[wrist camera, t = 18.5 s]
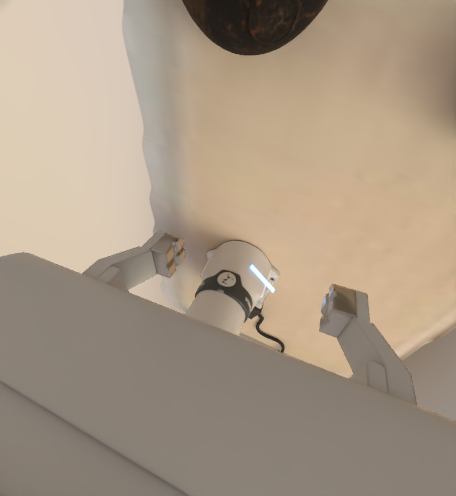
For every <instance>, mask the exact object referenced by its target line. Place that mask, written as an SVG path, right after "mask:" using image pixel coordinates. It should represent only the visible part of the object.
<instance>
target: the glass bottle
mask: <svg viewBox="0 0 456 496" xmlns="http://www.w3.org/2000/svg"><path fill="white" fill-rule="evenodd" d="M182 1H183V3H184V5H185V7H186V8H187V11H188V12H189V14H190V16H191V17H192V19H193V20H194V22H195V23H196V24H197V26H198V27H199V28H200V29H201V31H202V32H203V33H204V34H205V35H206V36H207V37H208V38H209V39H210V40H211V41H213V42H214V43H215V44H217V45H218V46H220V47H222V48H223V49H225V50H227V51H230V52H232V53H235V54H240V55H259V54H265V53H268V52H271V51H273V50H276V49H278V48H280V47H282V46H284V45H285V44H287V43H288V42H290V41H291V40H292V39H294V38H295V37H296V36H298V35H299V34H300V33H301V32H302V31H303V30H304V29H305V28H306V27H307V26H308V25H309V24H310V23H311V22H312V21H313V19H315V17H316V16H317V15H318V14H319V12H320V11H321V10H322V8H323V7H324V6H325V4H326V3H327V1H328V0H182Z"/></svg>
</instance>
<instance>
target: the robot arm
mask: <svg viewBox="0 0 456 496" xmlns="http://www.w3.org/2000/svg"><path fill="white" fill-rule="evenodd" d="M183 245H184V239H182V238H180V237H177V236H174V235H171V234H168V233H164V232H161V231H158V232H157V233H155V234H154V235H153V236H152V237H151V238H150V239H149V240H148V241H147V242H146V243H145V244H144V245H143V246H142V247H136V248H133V249H130V250H127V251H124V252H121V253H117V254H114V255H111V256H108V257H105V258H102V259H99V260H98V261H96V262H95V263H94V264H93V265H92V266H90V267H89V268H88V269H87V270H86V271H85V272H83V273H82V274H80V273H78V272H75V271H73V270H70V269H68V268H65V267H63V266H60V265H58V264H55V263H52V262H50V261H47V260H45V259H42V258H40V257H37V256H35V255H33V254H30V253H16V254H11V255H7V256H2V257H0V496H456V421H454V420H452V419H449V418H447V417H444V416H442V415H439V414H437V413H434V412H431V411H429V410H426V409H424V408H421V407H419V406H417V402H416V396H415V392H414V386H413V381H412V376H411V373H410V372H409V371H408V369H407V368H406V367H405V365H404V364H403V363H402V361H401V360H400V359H399V357H398V356H397V355H396V353H395V352H394V351H393V349H392V348H391V347H390V345H389V344H388V343H387V341H386V340H385V338H384V337H383V336H382V334H381V333H380V332H379V330H378V329H377V328H376V326H375V325H374V324H373V323H370V317H369V306H368V295H367V294H366V293H363V292H360V291H356V290H353V289H349V288H346V287H342V286H339V285H336V284H332V285H331V287H330V288H329V293H328V294H326V296H325V298H324V301H323V304H322V309H321V313H322V314H323V316H322V318H321V319H320V329H319V331H321V332H323V333H326V334H328V335H331V336H334V337H336V338H337V339H338V342H339V344H340V346H341V348H342V350H343V352H344V354H345V356H346V358H347V361H348V363H349V365H350V367H351V369H352V371H353V373H354V374H353V375H352V376H351V377H350V378H349V379H348V378H345V377H342V376H340V375H337V374H335V373H332V372H330V371H327V370H325V369H322V368H320V367H317V366H315V365H312V364H309V363H307V362H304V361H302V360H299V359H297V358H294V357H292V356H289V355H287V354H284V353H283V352H284V345H283V343H282V342H281V341H279V340H277V339H275V338H273V337H271V336H268V335H266V334H264V333H262V332H261V331H260V330H259V325H260V324H261V323H262V321H263V319H264V318H263V316H262V315H261V314H260V313H261V310H262V307H263V303H264V300H265V298H266V296H267V295H268V293H269V292H270V290H271V291H272V292H274V288H273V286H274V284H275V283H276V281H277V279H278V278H279V275H280V274H279V272H278V271H277V270H276V269H275V268H273V267H272V266H271V264H270V263H269V261H268V259H267V257H266V256H265V255H264V254H263V253H262V252H261V251H260V250H259V249H258V248H256V247H254V246H253V245H251V244H248V243H245V242H241V241H228V242H225V243H223V244H221V245H220V246H219V247H218V248H217V249H213V250H210V251H208V253H207V255H206V256H207V260H208V262H207V264H206V266H205V268H204V269H203V271H202V273H201V278H202V283H201V285H200V286H199V288H198V289H197V292H196V294H195V299H194V301H193V302H192V304H191V306H190V307H189V309H188V311H187V312H186V314H182V313H180V312H177V311H175V310H172V309H169V308H167V307H164V306H162V305H159V304H157V303H154V302H151V301H149V300H147V299H144V298H141V297H139V296H136V295H134V294H131V293H129V291H128V289H130V288H132V287H134V286H136V285H138V284H140V283H142V282H144V281H145V280H147V279H149V278H151V277H153V276H155V275H156V274H160V275H162V276H166V277H169V278H170V277H171V276H172V275H173V273H174V272H175V271H176V266H178V265H180V264H181V263H182V262H183V259H184V257H185V249H184V248H183ZM257 315H258V316H259V317H260V318H261V319H260V321H259V322H258V323H257V326H256V329H257V331H258V332H259V333H260V334H261V335H262V336H264V337H266V338H269V339H271V340H273V341H276V342H277V343H279V344H280V345H281V346H282V350H281V352H280V351H279V350H278V351H276V350H274V349H271V348H269V347H266V346H263V345H261V344H258V343H256V342H253V341H251V340H248V339H245V338H243V337H240V336H239V335H240V332H241V329H242V326H243V323H245V322H246V320H247V318H250V319H252V318H253V317H255V316H257Z"/></svg>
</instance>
